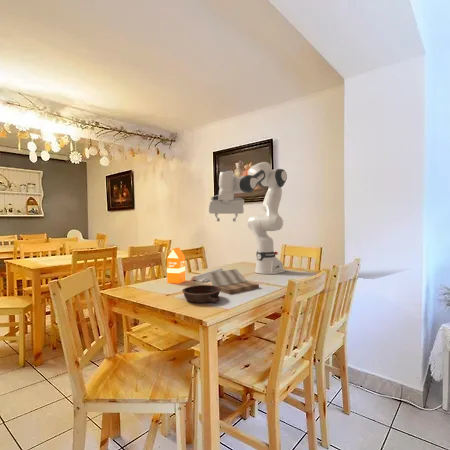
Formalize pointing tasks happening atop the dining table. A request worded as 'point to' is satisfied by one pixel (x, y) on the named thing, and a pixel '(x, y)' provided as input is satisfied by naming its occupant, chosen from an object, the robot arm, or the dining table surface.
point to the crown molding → (204, 276)
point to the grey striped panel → (225, 277)
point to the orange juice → (176, 266)
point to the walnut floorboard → (238, 287)
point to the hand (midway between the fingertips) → (226, 221)
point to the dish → (202, 293)
